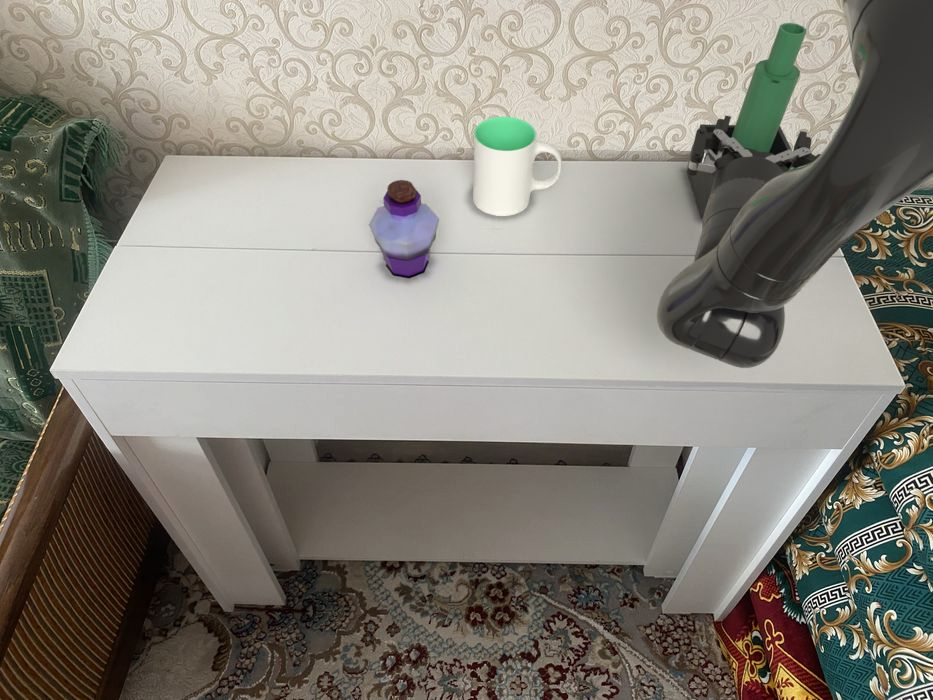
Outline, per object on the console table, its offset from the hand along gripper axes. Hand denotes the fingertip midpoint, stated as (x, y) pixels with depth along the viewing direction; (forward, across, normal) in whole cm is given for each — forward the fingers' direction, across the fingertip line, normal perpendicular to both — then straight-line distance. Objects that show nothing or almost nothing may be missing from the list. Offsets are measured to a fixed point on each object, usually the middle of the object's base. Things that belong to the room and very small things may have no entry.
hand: (762, 130), depth 81 cm
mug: (-3, +29, +16) cm, 33 cm away
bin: (+10, 0, +16) cm, 19 cm away
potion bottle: (-22, +37, +16) cm, 46 cm away
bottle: (+10, 0, +15) cm, 18 cm away
